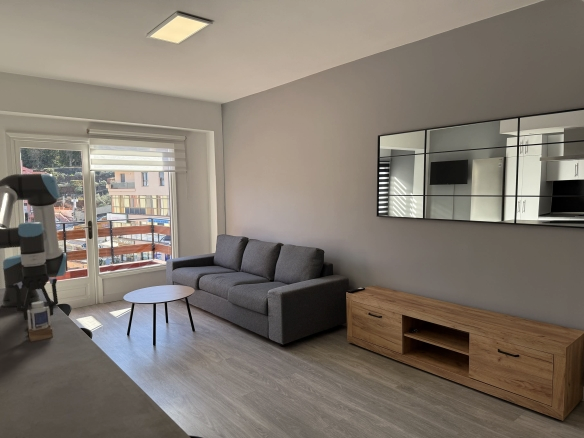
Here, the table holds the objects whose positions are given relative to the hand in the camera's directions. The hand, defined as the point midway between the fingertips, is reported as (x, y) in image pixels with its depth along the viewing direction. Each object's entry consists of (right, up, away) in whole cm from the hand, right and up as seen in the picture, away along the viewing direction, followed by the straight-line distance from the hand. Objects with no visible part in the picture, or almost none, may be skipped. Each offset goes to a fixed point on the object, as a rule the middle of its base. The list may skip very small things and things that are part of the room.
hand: (39, 326), depth 150 cm
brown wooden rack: (-2, -3, +4) cm, 5 cm away
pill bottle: (0, -1, 0) cm, 1 cm away
